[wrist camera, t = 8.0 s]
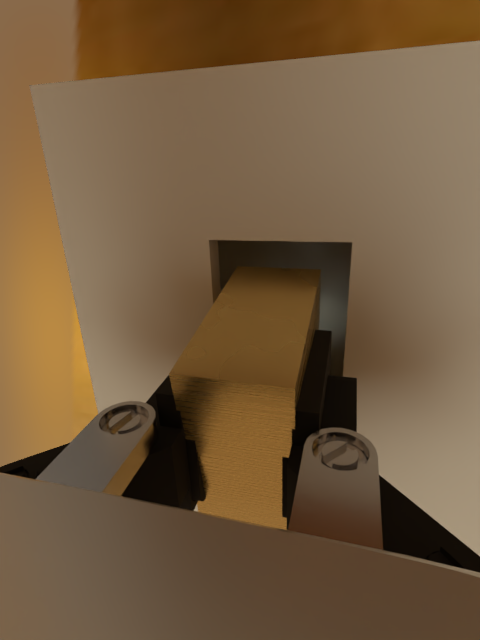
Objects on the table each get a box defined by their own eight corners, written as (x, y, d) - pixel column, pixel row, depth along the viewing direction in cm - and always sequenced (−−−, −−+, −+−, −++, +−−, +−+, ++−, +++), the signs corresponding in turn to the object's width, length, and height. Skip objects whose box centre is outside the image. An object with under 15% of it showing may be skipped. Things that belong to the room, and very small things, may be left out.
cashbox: (174, 112, 20) (29, 85, 11) (488, 90, 17) (640, 24, 8) (199, 386, 26) (118, 508, 17) (431, 413, 23) (478, 584, 14)
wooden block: (249, 405, 15) (237, 266, 12) (316, 414, 14) (320, 269, 11) (204, 538, 10) (168, 373, 8) (296, 559, 10) (295, 388, 7)
